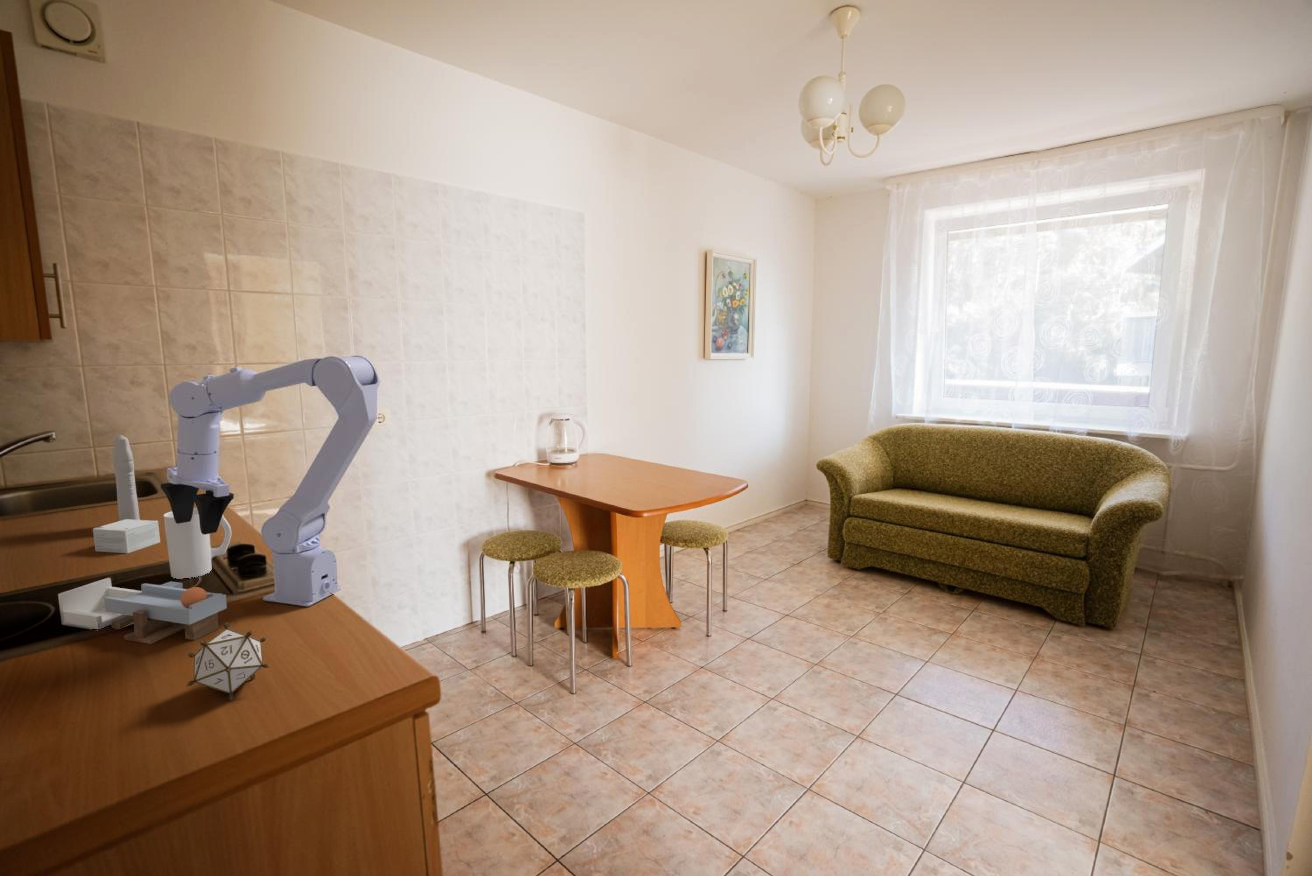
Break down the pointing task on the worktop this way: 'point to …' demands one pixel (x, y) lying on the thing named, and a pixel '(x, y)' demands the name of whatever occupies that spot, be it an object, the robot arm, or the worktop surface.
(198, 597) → the ball
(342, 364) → the robot arm
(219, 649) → the game die
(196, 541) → the mug
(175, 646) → the worktop surface
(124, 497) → the tall pale column
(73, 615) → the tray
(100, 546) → the small box
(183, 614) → the lever
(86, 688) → the worktop surface
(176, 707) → the worktop surface
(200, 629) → the fulcrum
